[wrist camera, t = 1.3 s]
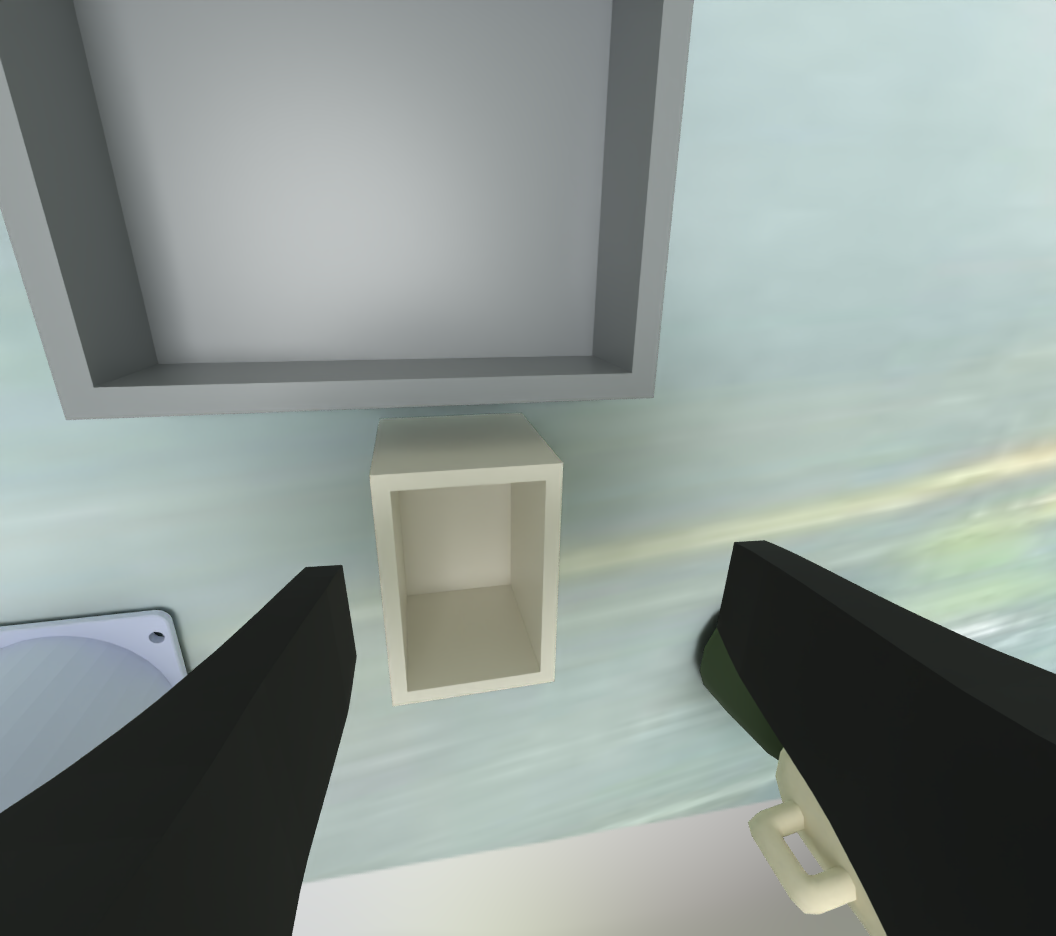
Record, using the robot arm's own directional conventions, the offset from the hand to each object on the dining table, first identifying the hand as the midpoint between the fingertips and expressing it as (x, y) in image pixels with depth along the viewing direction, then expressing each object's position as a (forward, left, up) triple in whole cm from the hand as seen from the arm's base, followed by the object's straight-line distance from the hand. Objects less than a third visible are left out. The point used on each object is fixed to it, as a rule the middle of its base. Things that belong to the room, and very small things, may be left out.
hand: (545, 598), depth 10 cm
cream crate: (-3, +1, -12) cm, 12 cm away
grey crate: (+9, +3, -12) cm, 15 cm away
